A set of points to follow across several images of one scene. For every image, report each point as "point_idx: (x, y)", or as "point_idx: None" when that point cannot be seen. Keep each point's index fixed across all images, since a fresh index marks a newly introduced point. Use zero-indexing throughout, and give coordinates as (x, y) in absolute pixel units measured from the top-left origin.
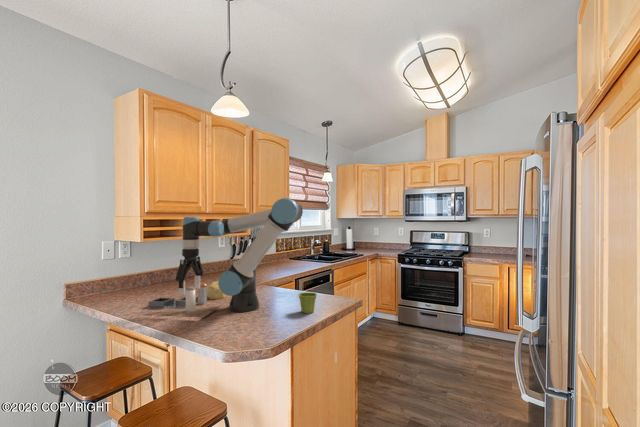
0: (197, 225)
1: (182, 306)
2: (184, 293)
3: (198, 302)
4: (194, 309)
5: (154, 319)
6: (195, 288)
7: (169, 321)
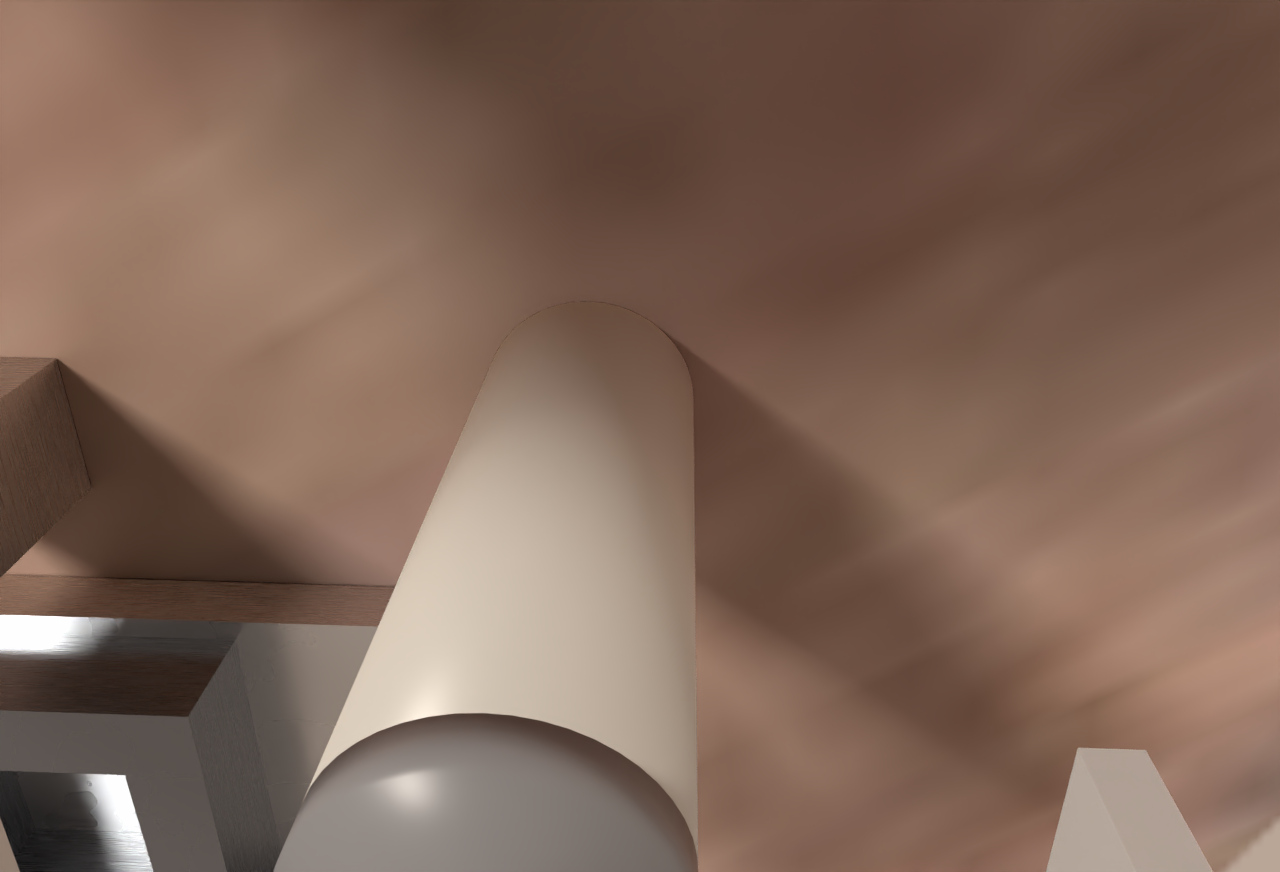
0: None
1: (315, 740)
2: (1134, 796)
3: (26, 543)
4: (586, 346)
5: (986, 819)
6: (3, 847)
7: (1121, 541)
